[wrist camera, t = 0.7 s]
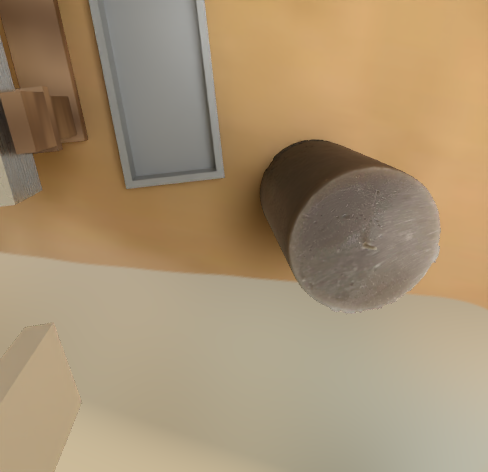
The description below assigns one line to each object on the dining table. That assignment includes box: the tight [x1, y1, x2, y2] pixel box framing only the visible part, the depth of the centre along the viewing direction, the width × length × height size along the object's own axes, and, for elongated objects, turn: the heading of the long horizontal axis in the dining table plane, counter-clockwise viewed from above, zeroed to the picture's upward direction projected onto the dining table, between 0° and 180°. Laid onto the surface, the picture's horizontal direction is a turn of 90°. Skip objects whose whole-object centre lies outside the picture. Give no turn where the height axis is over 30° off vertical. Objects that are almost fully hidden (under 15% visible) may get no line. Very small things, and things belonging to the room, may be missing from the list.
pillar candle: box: [260, 140, 441, 313], centre depth 30 cm, size 10×10×15 cm
